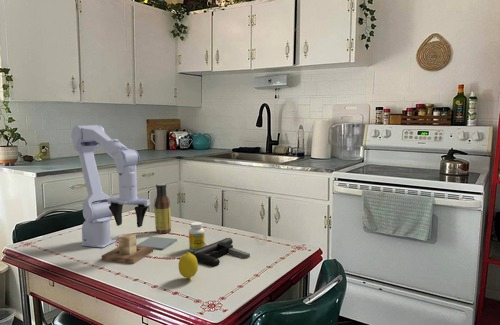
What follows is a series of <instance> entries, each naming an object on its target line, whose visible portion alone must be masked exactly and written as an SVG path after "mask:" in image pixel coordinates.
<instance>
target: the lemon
mask: <svg viewBox="0 0 500 325" xmlns="http://www.w3.org/2000/svg"><path fill="white" fill-rule="evenodd" d="M198 262H199V261H197V259H196V257H195V256H194V255H193V254H191V252H186V253H184V254H183V255H181V256H180V258H179V260H178V271H179V274H180V275H181V276H182V277H183V278H186V279H187V280H190V279H191V278H193V277H194V276H196V274H197V272H198V268H199V263H198Z"/></svg>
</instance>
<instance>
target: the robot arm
mask: <svg viewBox="0 0 500 325" xmlns="http://www.w3.org/2000/svg"><path fill="white" fill-rule="evenodd" d="M71 140H72V144H73V147H74V150H75V151H77V153H78V157H79V161H80V165H81V169H82V174H83V179H84V183H85V184H84V185H85V187H86V192H87V195H88V196H86V198H84V200H83V201H82V203H81V204H82V215H83V218H84V222H83V223H82V226H81V236H82V237H81V238H82V241H81V242H82V243H81V244H80V246H84V247H92V248H94V247H95V248H101V249H102V248H105V247H107V246H109V245H112V244H113V243H116V241H117V240H116V239H112V238H111V236H112V235H111V220H112V218H114V220H115V223H116V226H118V227H119V226H122V223H123V216H122V215H123V206H124V205H128V206H129V205H130V206H134V211H135V215H136V216H135V217H136V226H137V228H141V227H143V222H144V219H145V215H146V213H147V211H148V208H149V206H150V205H151V202H150V199H149V198H142V197H138V182H137V180H138V178H137V167H138V165H139V164H140V161H141V157H140V154H139V152H138V151H137V149H135V148H132V149H131V148H128V147H127V146H126V145H125V144H123V143H122V142H120V140H119V139H118V138H114V139H113V138H111V137H110V136H109V135H108V134H107V133H106V131H105V128H104V127H103V126H102V125H101V124H90V125H89V124H88V125H79V124H78V125H77V124H76V125H74V126H73V127H72V130H71ZM99 146H102V147H104V152H105V153H106V154H107V155H108V156H110V158H112V160H113V162H114V165H115V167H116V172H117V173H118V191H119V193H118V194H119V196H117V197H114V196H113V197H110V196H109V194H107V193H105V192H103V188H102V182H101V179H100V175H99V171H98V167H97V166H98V165H97V163H96V158H95V153H94V152H95V150H96V149H98V148H99Z"/></svg>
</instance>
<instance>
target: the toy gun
mask: <svg viewBox="0 0 500 325" xmlns="http://www.w3.org/2000/svg"><path fill="white" fill-rule="evenodd" d="M190 253H191V254H193V255H194V256H195V257H196V259H197V262H200V263H203V264H205V265H207V266H210V267H217V266H219V265H220V261H221V260H220V259H219V258H222V257H223V256H227V255H232V256H236V257H239V258H243V259H249V258H251V257H250V256H251V254H250V253H249V252H247V251H242V250H240V249H238V248H234V245H233V238H231V237H226V238H224V239H220V240H218V241H216V242H213V243H210V244H208V245H205V247H202V248H200V249H197V250H194V251H190Z"/></svg>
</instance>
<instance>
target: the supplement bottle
mask: <svg viewBox="0 0 500 325" xmlns="http://www.w3.org/2000/svg"><path fill="white" fill-rule="evenodd" d="M188 242H189V243H188V244H189V245H188V246H189V251H190V252H192V251H194V250H197V249H200V248H202V247H205V246H206V244H205V243H206V242H205V229H204V228H203V223H202V222H200V221H195V222H191V223H190V229H189V230H188Z"/></svg>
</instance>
